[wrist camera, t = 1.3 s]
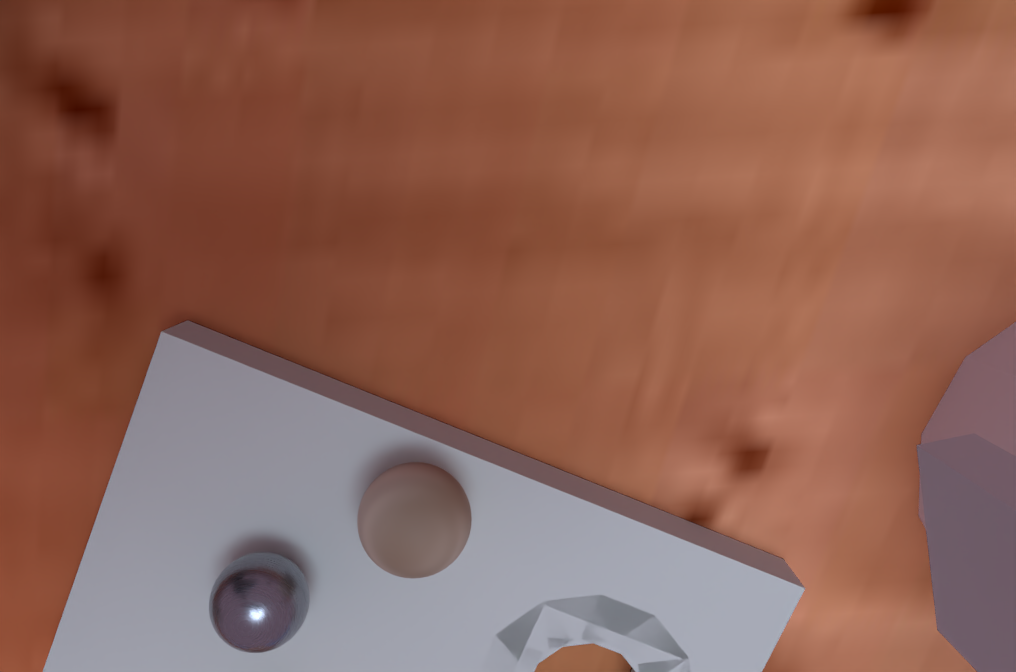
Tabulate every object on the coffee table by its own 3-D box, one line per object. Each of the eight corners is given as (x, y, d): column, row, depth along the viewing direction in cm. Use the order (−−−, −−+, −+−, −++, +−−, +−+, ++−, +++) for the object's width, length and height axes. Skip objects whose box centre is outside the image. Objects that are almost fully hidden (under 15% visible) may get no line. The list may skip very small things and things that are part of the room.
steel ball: (215, 601, 32) (180, 652, 28) (245, 522, 31) (213, 564, 28) (300, 633, 32) (275, 687, 29) (332, 555, 31) (310, 601, 28)
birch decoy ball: (352, 524, 31) (329, 574, 27) (390, 431, 31) (373, 467, 27) (449, 563, 31) (441, 617, 28) (490, 470, 31) (488, 512, 27)
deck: (73, 643, 35) (40, 678, 32) (187, 320, 32) (161, 331, 30) (634, 850, 37) (643, 897, 34) (783, 559, 34) (805, 588, 32)
